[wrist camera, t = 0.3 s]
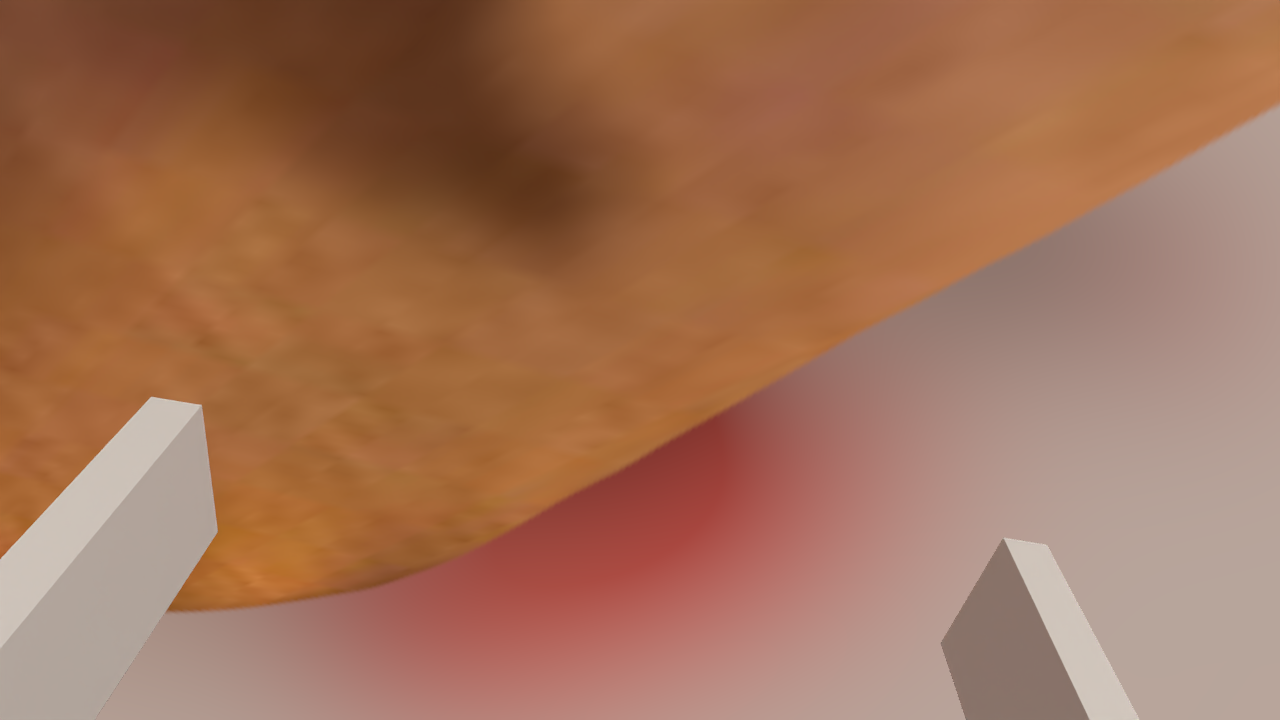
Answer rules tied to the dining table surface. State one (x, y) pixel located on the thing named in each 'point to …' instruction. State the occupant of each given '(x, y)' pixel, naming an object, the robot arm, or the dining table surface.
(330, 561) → the dining table surface
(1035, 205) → the dining table surface
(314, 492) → the dining table surface
